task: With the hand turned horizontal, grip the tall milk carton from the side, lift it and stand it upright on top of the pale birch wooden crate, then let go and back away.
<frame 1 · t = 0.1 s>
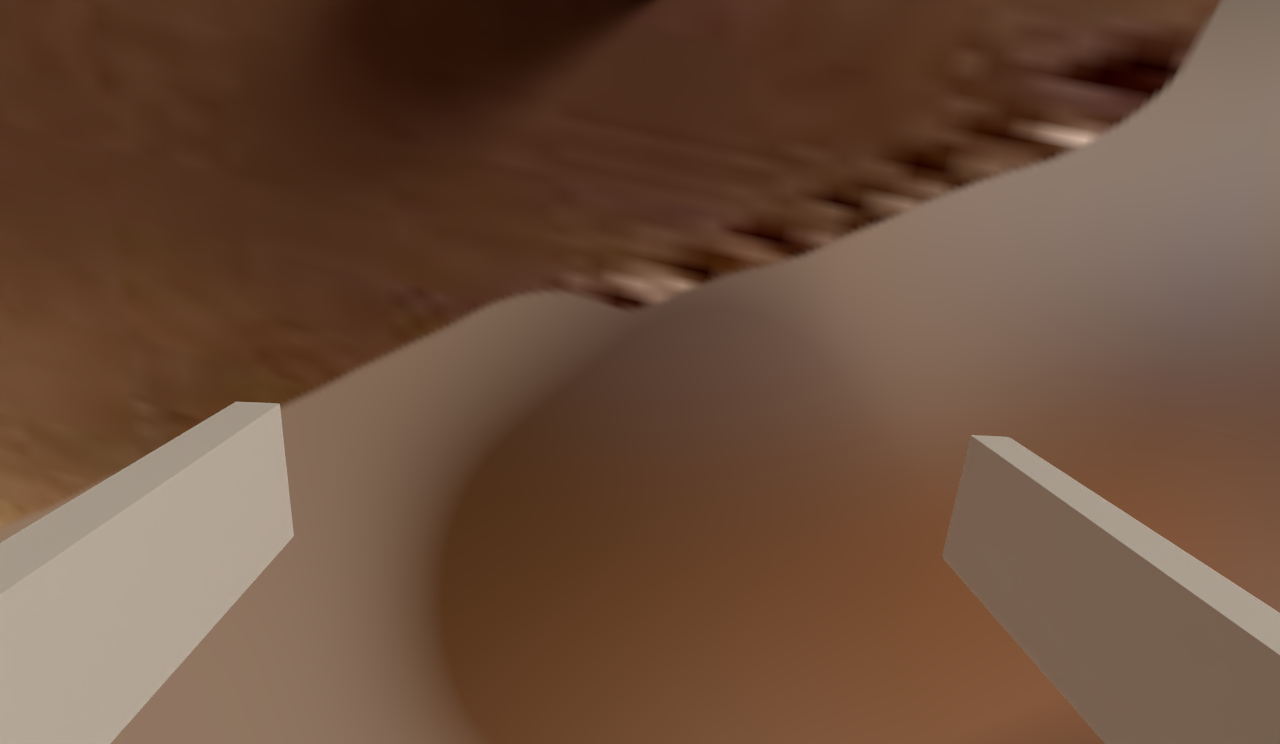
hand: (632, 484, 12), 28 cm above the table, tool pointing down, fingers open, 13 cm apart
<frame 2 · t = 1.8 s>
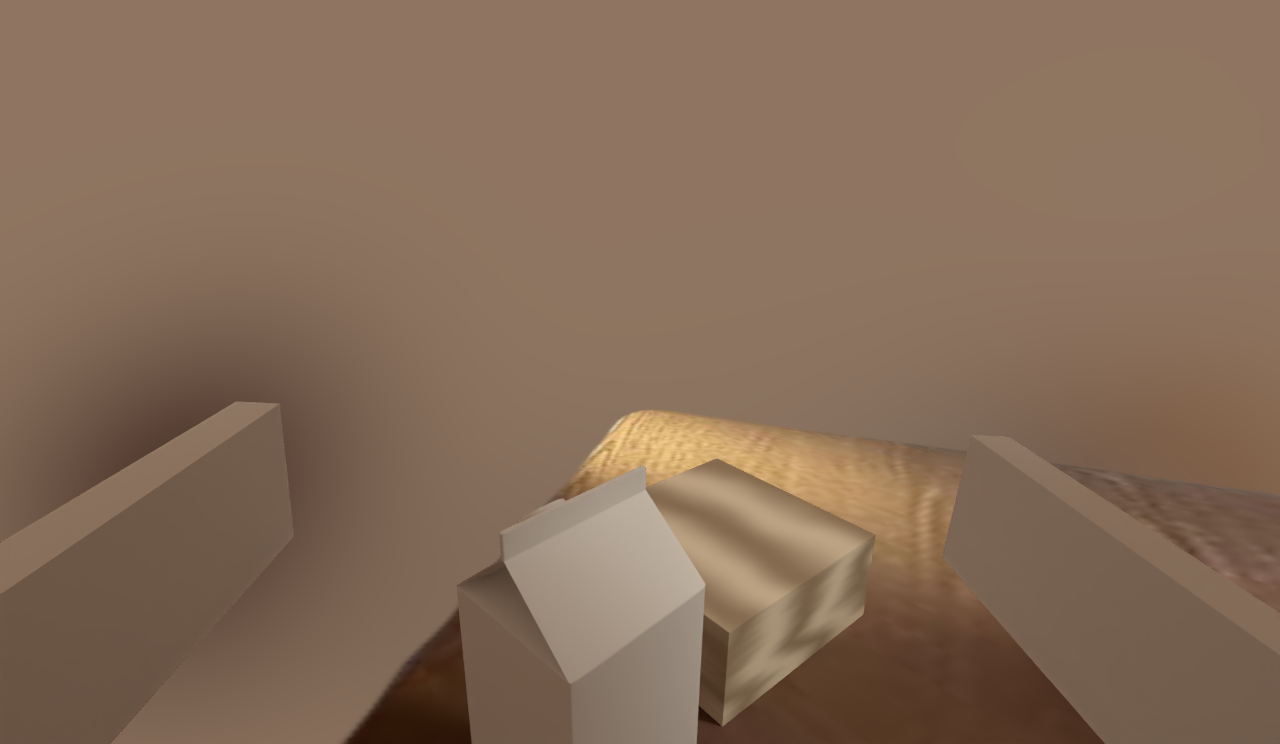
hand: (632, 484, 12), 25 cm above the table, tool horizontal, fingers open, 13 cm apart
crate: (716, 607, 47), on the table
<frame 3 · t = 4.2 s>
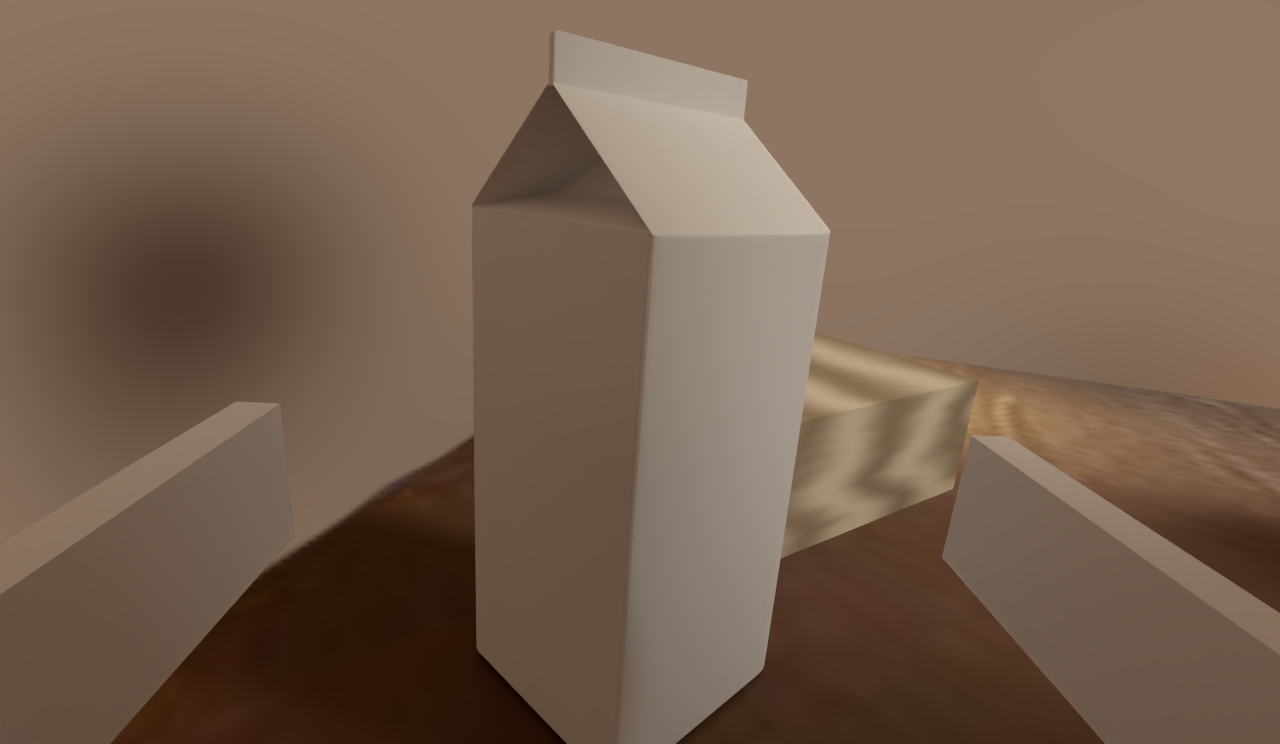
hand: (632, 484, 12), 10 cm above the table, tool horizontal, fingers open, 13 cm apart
crate: (768, 468, 39), on the table
milk carton: (620, 668, 22), on the table
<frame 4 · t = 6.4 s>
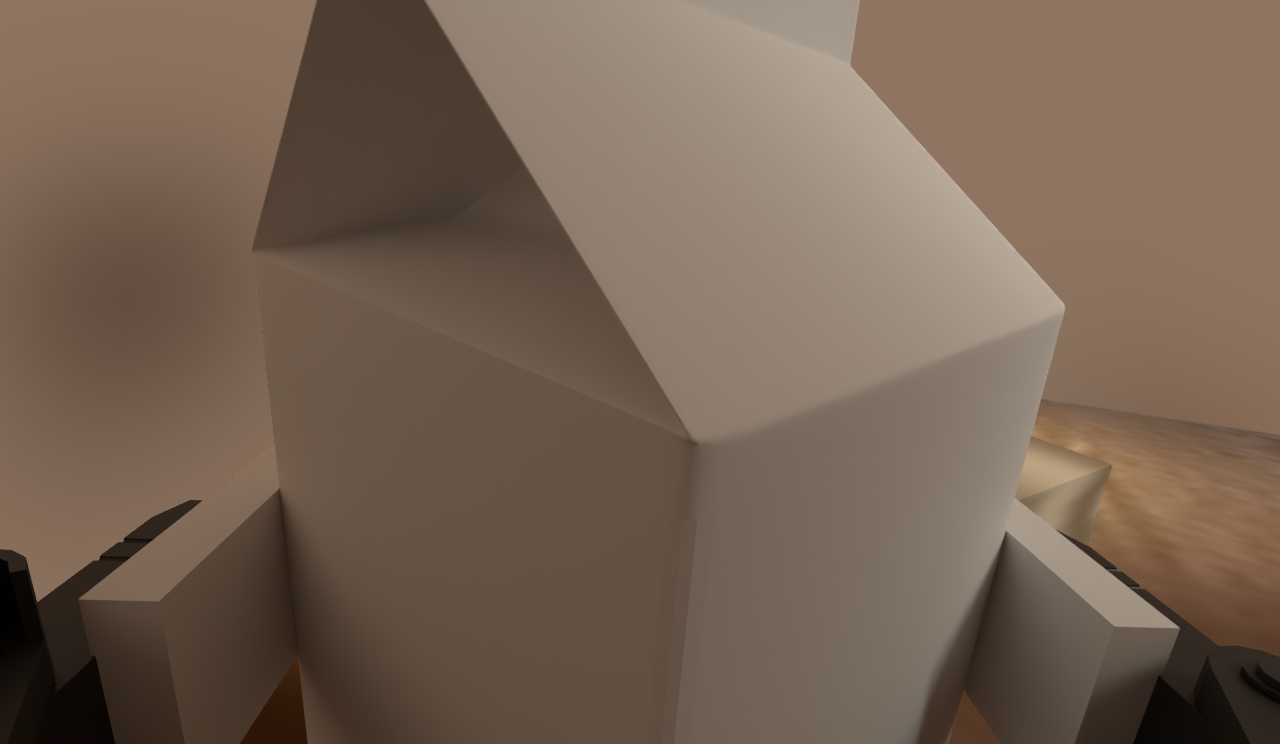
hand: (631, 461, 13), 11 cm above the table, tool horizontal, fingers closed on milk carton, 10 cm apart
crate: (809, 567, 29), on the table
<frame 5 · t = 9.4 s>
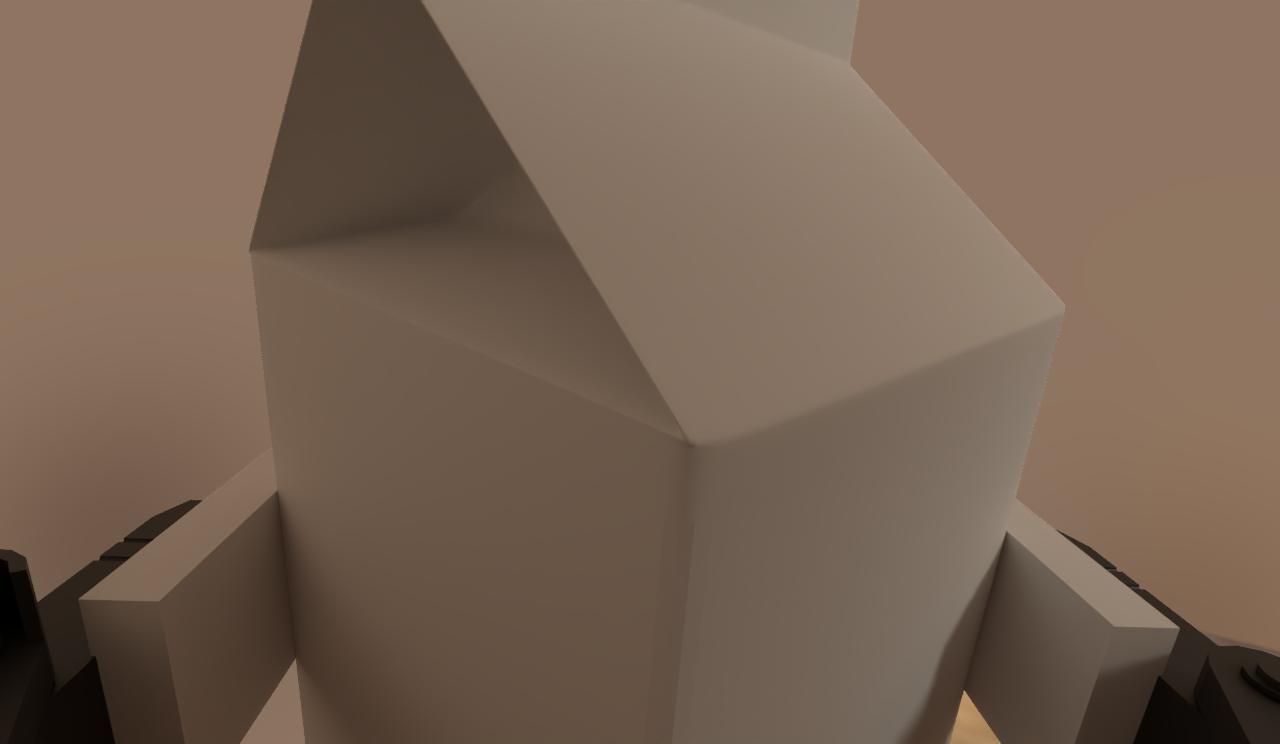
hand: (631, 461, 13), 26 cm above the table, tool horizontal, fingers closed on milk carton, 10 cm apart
when the fingers open (19 cm above the table, at t = 12.4 s): milk carton drops 2 cm, resting on crate.
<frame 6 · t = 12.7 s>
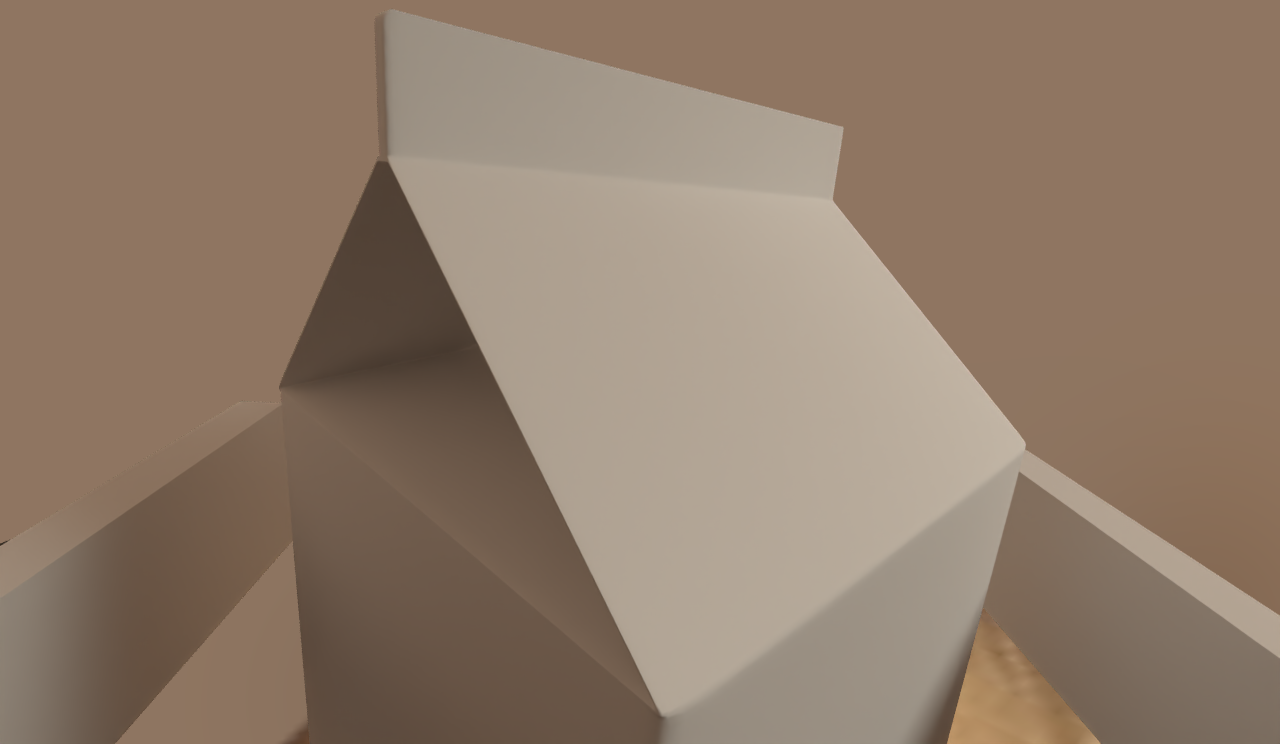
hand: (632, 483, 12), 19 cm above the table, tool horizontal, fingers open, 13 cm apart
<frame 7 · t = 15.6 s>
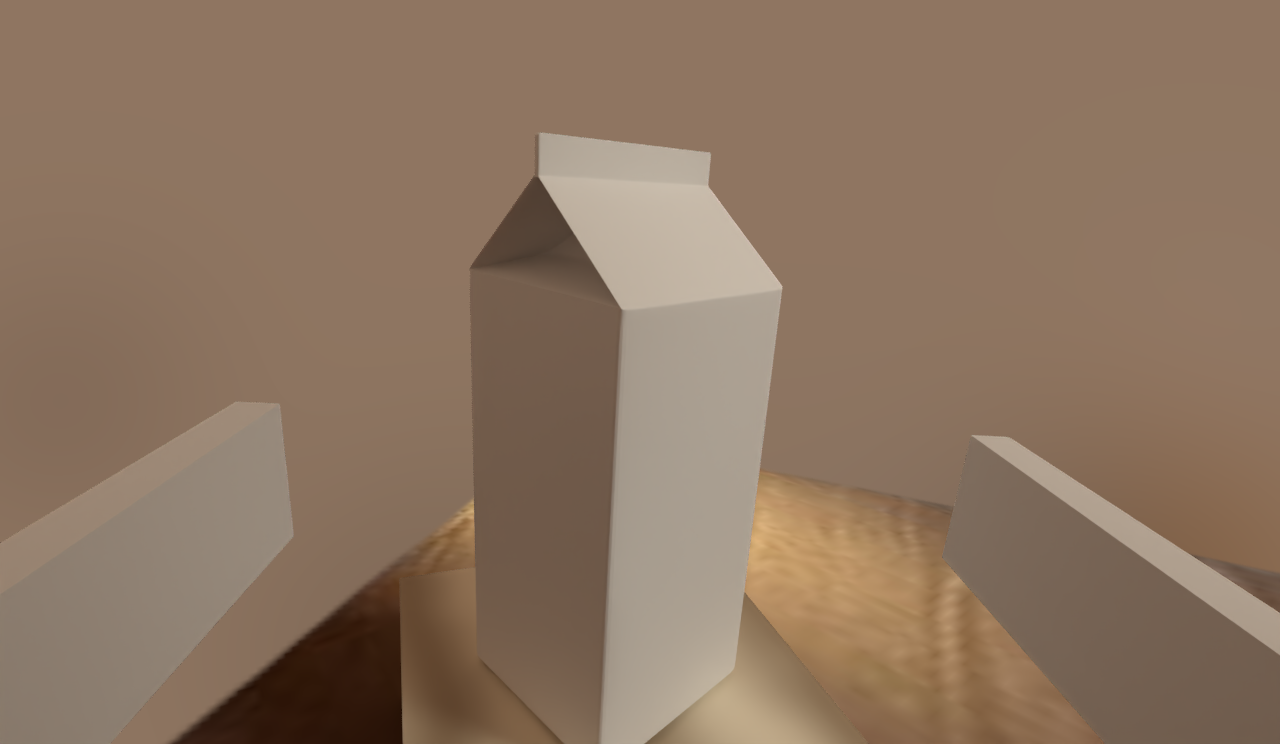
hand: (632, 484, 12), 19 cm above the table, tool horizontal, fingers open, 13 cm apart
milk carton: (606, 670, 24), point 6 cm above the table
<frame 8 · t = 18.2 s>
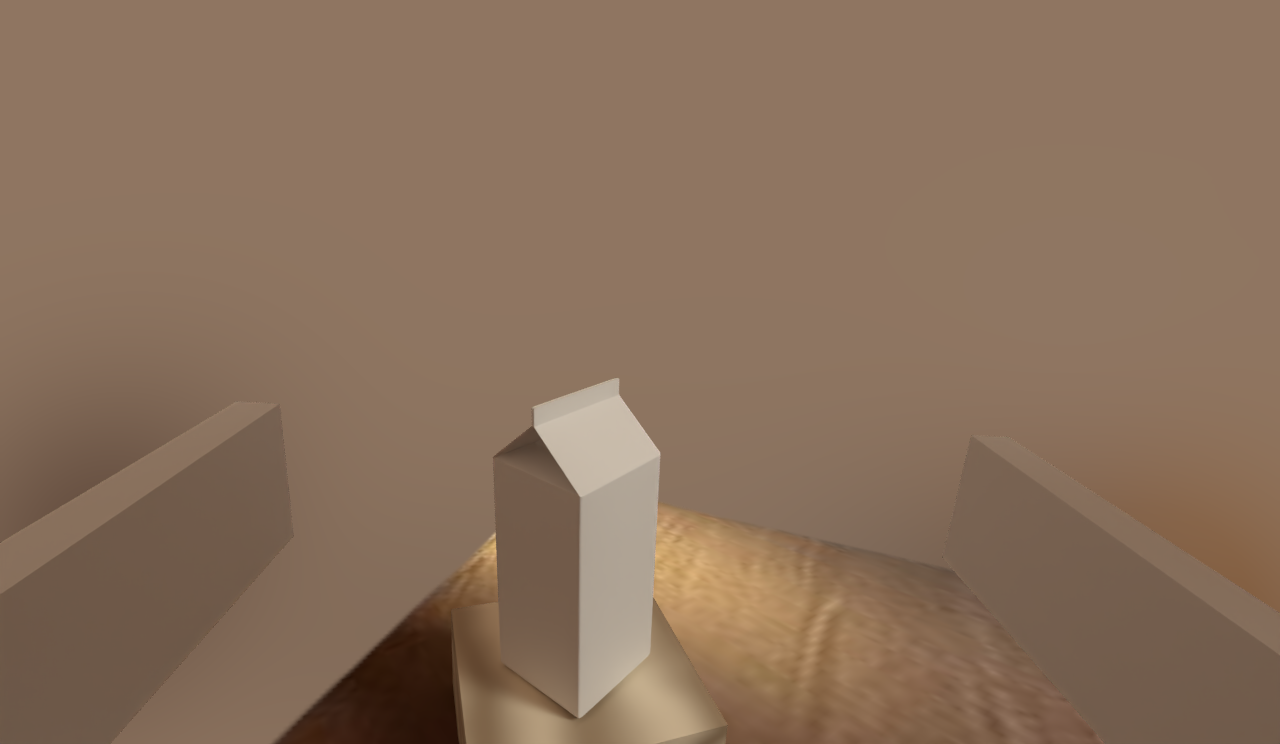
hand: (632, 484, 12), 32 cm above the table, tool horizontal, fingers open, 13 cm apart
crate: (571, 743, 44), on the table, touching milk carton
milk carton: (576, 662, 42), point 7 cm above the table, touching crate
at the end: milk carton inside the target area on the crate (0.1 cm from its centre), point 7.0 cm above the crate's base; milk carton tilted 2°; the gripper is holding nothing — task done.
